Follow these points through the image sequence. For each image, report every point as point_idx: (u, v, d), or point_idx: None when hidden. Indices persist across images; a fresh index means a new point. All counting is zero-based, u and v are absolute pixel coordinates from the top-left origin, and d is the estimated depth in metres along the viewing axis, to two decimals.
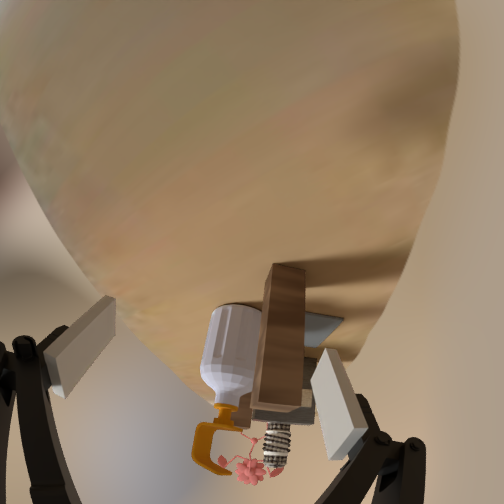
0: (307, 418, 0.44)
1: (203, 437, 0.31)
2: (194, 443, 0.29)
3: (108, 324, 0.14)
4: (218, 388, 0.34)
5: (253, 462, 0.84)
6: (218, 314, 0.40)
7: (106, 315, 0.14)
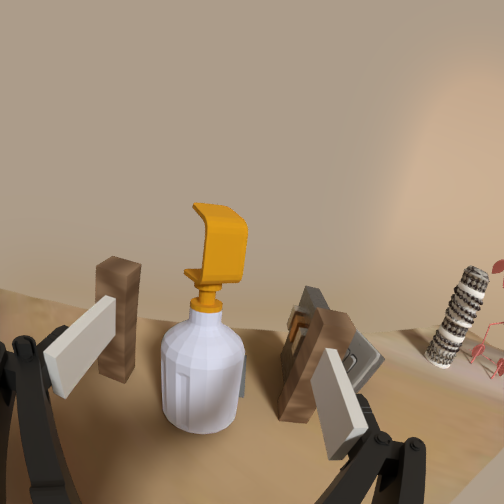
0: (304, 295, 0.43)
1: None
2: (204, 249, 0.23)
3: (108, 324, 0.14)
4: (188, 328, 0.26)
5: None
6: (170, 414, 0.26)
7: (106, 315, 0.14)
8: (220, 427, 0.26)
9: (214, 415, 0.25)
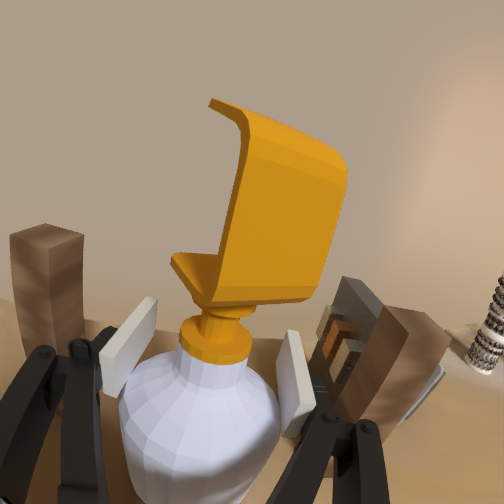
0: (342, 289, 0.29)
1: None
2: (231, 206, 0.07)
3: (150, 324, 0.16)
4: (171, 385, 0.11)
5: None
6: (139, 493, 0.12)
7: (150, 315, 0.15)
8: None
9: None
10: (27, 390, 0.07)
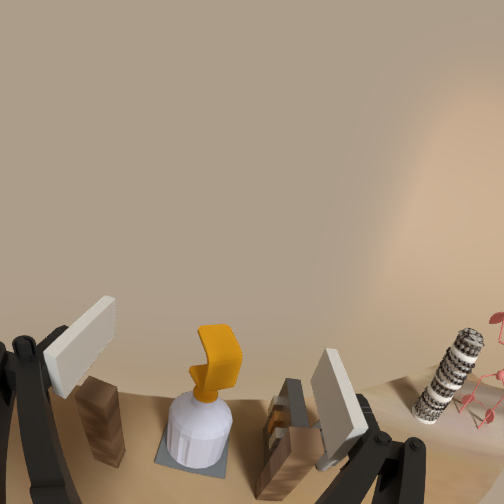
0: (284, 388, 0.39)
1: None
2: (206, 375, 0.27)
3: (108, 324, 0.14)
4: (190, 408, 0.31)
5: None
6: (173, 454, 0.32)
7: (106, 315, 0.14)
8: (209, 465, 0.32)
9: (205, 460, 0.31)
10: None
